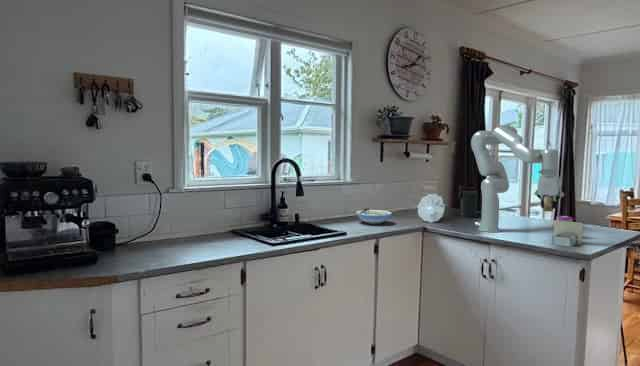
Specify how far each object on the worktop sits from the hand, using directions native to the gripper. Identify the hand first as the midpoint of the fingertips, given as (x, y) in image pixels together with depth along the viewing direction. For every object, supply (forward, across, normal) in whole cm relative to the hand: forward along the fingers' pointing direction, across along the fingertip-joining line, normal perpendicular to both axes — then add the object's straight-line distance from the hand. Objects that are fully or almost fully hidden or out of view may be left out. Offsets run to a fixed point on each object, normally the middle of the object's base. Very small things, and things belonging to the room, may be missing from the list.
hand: (548, 207), depth 219 cm
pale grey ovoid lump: (+17, -78, +16) cm, 81 cm away
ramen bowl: (+16, -96, -24) cm, 101 cm away
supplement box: (+18, +2, +21) cm, 28 cm away
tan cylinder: (+2, 0, 0) cm, 2 cm away
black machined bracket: (+16, -71, +53) cm, 90 cm away
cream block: (+18, +7, +3) cm, 20 cm away
